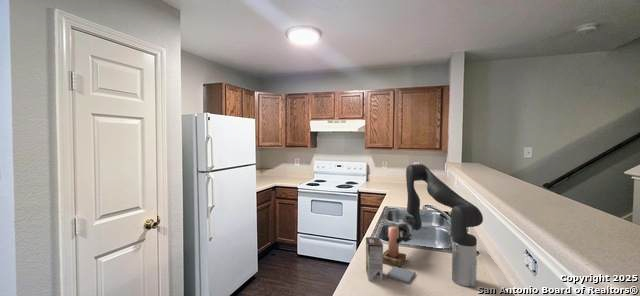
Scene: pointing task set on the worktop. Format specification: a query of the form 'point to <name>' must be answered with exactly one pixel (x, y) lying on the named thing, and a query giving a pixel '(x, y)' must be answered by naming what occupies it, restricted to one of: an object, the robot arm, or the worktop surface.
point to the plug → (393, 241)
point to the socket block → (394, 259)
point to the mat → (400, 274)
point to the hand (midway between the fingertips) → (392, 240)
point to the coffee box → (374, 259)
